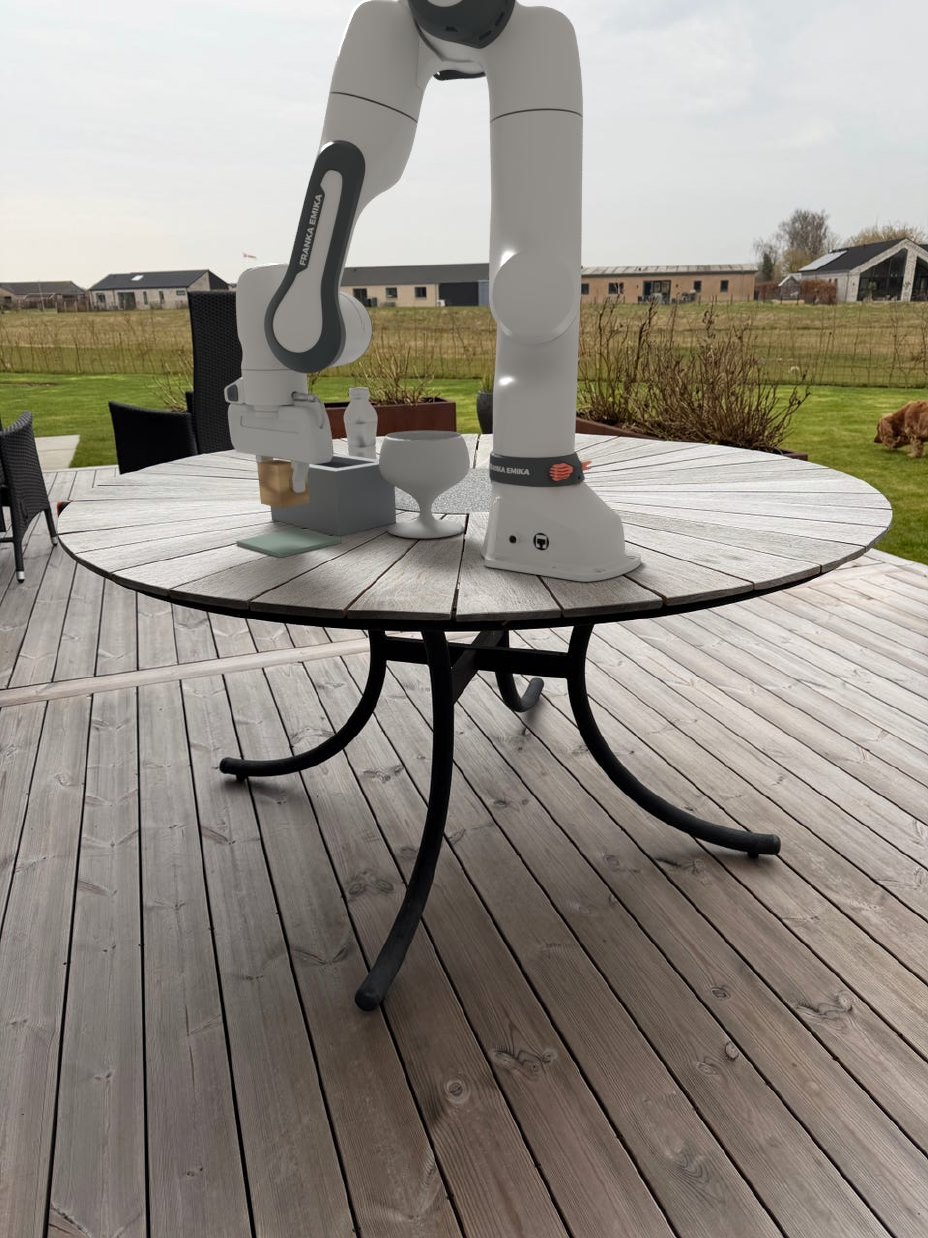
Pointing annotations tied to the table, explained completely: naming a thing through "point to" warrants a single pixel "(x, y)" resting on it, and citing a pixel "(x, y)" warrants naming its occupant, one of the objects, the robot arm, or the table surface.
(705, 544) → the table surface
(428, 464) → the chalice
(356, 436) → the plastic bottle
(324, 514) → the box
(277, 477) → the honey block
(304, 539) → the green mat
